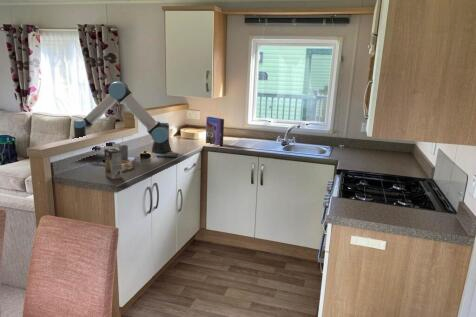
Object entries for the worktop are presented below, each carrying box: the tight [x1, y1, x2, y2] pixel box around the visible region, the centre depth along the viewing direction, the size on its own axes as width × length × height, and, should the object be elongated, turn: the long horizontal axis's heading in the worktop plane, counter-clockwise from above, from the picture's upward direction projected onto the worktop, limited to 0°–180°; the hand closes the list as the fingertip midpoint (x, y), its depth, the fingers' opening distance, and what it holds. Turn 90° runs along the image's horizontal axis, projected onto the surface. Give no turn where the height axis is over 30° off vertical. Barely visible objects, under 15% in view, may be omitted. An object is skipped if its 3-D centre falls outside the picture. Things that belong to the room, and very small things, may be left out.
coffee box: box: [103, 147, 123, 180], centre depth 202 cm, size 9×6×16 cm
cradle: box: [121, 160, 134, 172], centre depth 221 cm, size 11×10×4 cm
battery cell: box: [118, 143, 129, 161], centre depth 233 cm, size 6×6×13 cm
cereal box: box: [205, 116, 225, 146], centre depth 307 cm, size 17×5×24 cm, turn 48°
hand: (112, 147), depth 236 cm, fingers open, 13 cm apart
